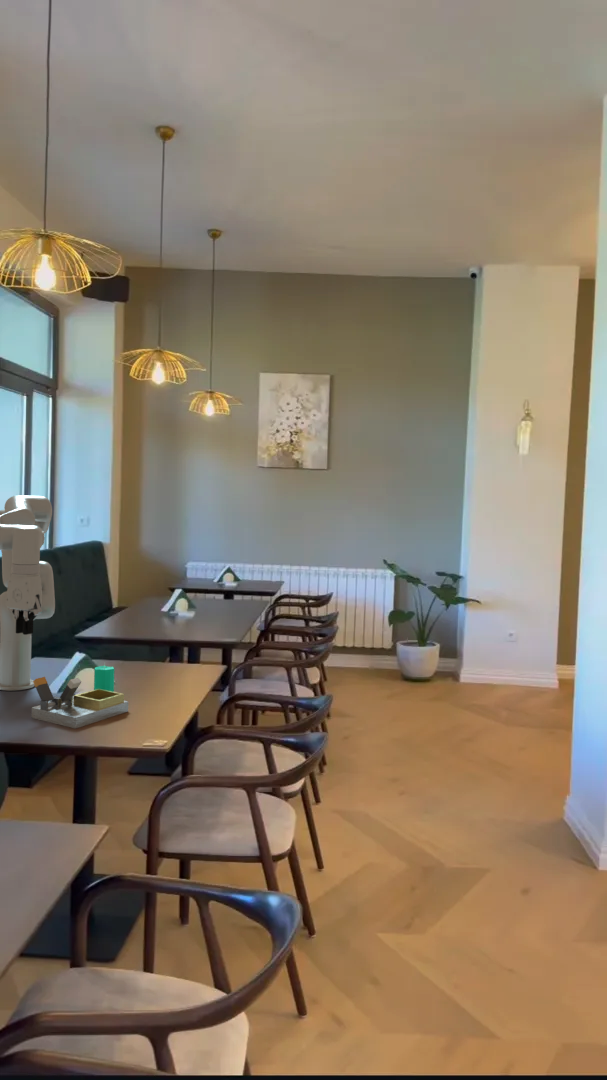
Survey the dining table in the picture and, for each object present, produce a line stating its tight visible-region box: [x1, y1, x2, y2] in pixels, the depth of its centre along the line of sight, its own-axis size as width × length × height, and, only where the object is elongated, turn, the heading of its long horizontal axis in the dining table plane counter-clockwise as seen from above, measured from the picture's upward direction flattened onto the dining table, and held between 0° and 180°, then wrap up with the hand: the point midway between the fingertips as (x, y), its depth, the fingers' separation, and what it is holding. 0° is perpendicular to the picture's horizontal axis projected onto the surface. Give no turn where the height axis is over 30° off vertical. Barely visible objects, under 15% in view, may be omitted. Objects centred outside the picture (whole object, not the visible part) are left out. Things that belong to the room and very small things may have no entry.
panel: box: [31, 689, 129, 730], centre depth 221 cm, size 17×21×6 cm
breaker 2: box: [59, 677, 82, 704], centre depth 219 cm, size 2×3×9 cm
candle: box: [93, 662, 115, 692], centre depth 236 cm, size 6×6×12 cm
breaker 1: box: [33, 676, 56, 708], centre depth 216 cm, size 2×3×9 cm
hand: (24, 632), depth 220 cm, fingers closed
